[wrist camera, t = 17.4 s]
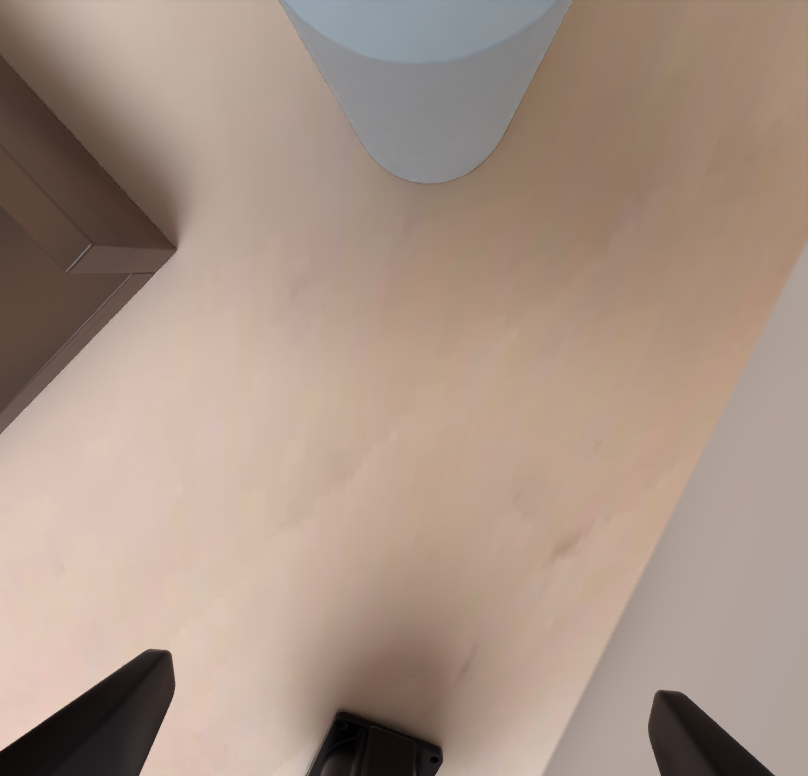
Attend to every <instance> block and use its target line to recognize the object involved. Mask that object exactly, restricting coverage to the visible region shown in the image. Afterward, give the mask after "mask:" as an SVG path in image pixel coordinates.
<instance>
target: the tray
mask: <svg viewBox="0 0 808 776" xmlns="http://www.w3.org/2000/svg"><path fill="white" fill-rule="evenodd" d="M175 252H176V248H175V247H174V246H173V245H172V244H171V243H170V242H169V241H168V240H167V238H166V237H165V236H164V235H163V234H162V233H161V232H160V231H159V230H158V229H157V227H156V226H155V225H154V224H153V223H152V222H151V221H150V220H149V219H148V218H147V216H146V215H145V214H144V213H143V212H142V211H141V210H140V209H139V208H138V206H137V205H136V204H135V203H134V202H133V201H132V200H131V199H130V198H129V197H128V195H127V194H126V193H125V192H124V191H123V190H122V189H121V188H120V187H119V186H118V184H117V183H116V182H115V181H114V180H113V179H112V178H111V177H110V176H109V175H108V173H107V172H106V171H105V170H104V169H103V168H102V167H101V166H100V165H99V164H98V162H97V161H96V160H95V159H94V158H93V157H92V156H91V155H90V154H89V153H88V151H87V150H86V149H85V148H84V147H83V146H82V145H81V144H80V143H79V142H78V140H77V139H76V138H75V137H74V136H73V135H72V134H71V133H70V132H69V131H68V129H67V128H66V127H65V126H64V125H63V124H62V123H61V122H60V121H59V120H58V118H57V117H56V116H55V115H54V114H53V113H52V112H51V111H50V110H49V109H48V107H47V106H46V105H45V104H44V103H43V102H42V101H41V100H40V99H39V98H38V96H37V95H36V94H35V93H34V92H33V91H32V90H31V89H30V88H29V87H28V85H27V84H26V83H25V82H24V81H23V80H22V79H21V78H20V77H19V75H18V74H17V73H16V72H15V71H14V70H13V69H12V68H11V67H10V66H9V64H8V63H7V62H6V61H5V60H4V59H3V58H2V57H1V56H0V433H1V432H2V431H3V430H4V429H5V428H6V427H7V426H8V425H9V424H10V423H11V422H12V421H13V420H14V419H15V418H16V417H17V416H18V415H19V414H20V412H21V411H22V410H23V409H24V408H25V407H26V406H27V405H28V404H29V403H30V402H31V401H32V400H33V399H34V398H35V397H36V396H37V395H38V394H39V393H40V392H41V391H42V390H43V389H44V388H45V387H46V386H47V385H48V384H49V382H50V381H51V380H52V379H53V378H54V377H55V376H56V375H57V374H58V373H59V372H60V371H61V370H62V369H63V368H64V367H65V366H66V365H67V364H68V363H69V362H70V361H71V360H72V359H73V358H74V357H75V356H76V355H77V353H78V352H79V351H80V350H81V349H82V348H83V347H84V346H85V345H86V344H87V343H88V342H89V341H90V340H91V339H92V338H93V337H94V336H95V335H96V334H97V333H98V332H99V331H100V330H101V329H102V328H103V327H104V326H105V324H106V323H107V322H108V321H109V320H110V319H111V318H112V317H113V316H114V315H115V314H116V313H117V312H118V311H119V310H120V309H121V308H122V307H123V306H124V305H125V304H126V303H127V302H128V301H129V300H130V299H131V298H132V297H133V295H134V294H135V293H136V292H137V291H138V290H139V289H140V288H141V287H142V286H143V285H144V284H145V283H146V282H147V281H148V280H149V279H150V278H151V277H152V276H153V275H154V272H156V271H157V270H158V269H159V268H160V267H161V266H162V265H163V264H164V263H165V262H166V261H167V260H168V259H169V258H170V257H171V256H172V255H173V254H174V253H175Z"/></svg>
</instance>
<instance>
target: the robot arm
mask: <svg viewBox="0 0 808 776" xmlns="http://www.w3.org/2000/svg"><path fill="white" fill-rule="evenodd" d="M174 691H175V676H174V668H173V660H172V655H171V653H170V652H169V651H167V650H159V649H149V650H146V651H144V652H143V653H141V654H140V655H138V656H137V657H135V658H134V659H133V660H131V661H130V662H128V663H127V664H125V665H124V666H122V667H121V668H120V669H118V670H117V671H115V672H114V673H112V674H111V675H110V676H108V677H107V678H105V679H104V680H102V681H101V682H99V683H98V684H97V685H95V686H94V687H92V688H91V689H89V690H88V691H87V692H85V693H84V694H82V695H81V696H79V697H78V698H76V699H75V700H74V701H72V702H71V703H69V704H68V705H66V706H65V707H64V708H62V709H61V710H59V711H58V712H56V713H55V714H53V715H52V716H51V717H49V718H48V719H46V720H45V721H43V722H42V723H41V724H39V725H38V726H36V727H35V728H33V729H32V730H30V731H29V732H28V733H26V734H25V735H23V736H22V737H20V738H19V739H17V740H16V741H15V742H13V743H12V744H10V745H9V746H7V747H6V748H5V749H3V750H2V751H0V776H139V775H140V772H141V770H142V768H143V765H144V763H145V761H146V759H147V756H148V754H149V752H150V749H151V747H152V745H153V742H154V740H155V738H156V735H157V733H158V731H159V729H160V726H161V724H162V722H163V719H164V717H165V715H166V712H167V710H168V708H169V705H170V703H171V701H172V698H173V695H174ZM648 733H649V738H650V742H651V745H652V749H653V751H654V755H655V758H656V762H657V764H658V768H659V771H660V774H661V776H775V775H774V774H772V773H771V772H770V771H769V770H768V769H767V768H766V767H765V766H764V765H763V764H761V763H760V762H759V761H758V760H757V759H756V758H755V757H754V756H753V755H751V754H750V753H749V752H748V751H747V750H746V749H745V748H744V747H742V746H741V745H740V744H739V743H738V742H737V741H736V740H734V738H733V737H731V736H730V735H729V734H728V733H727V732H726V731H725V730H724V729H722V728H721V727H720V726H719V725H718V724H717V723H716V722H715V721H714V720H713V719H711V718H710V717H709V716H708V715H707V714H706V713H705V712H704V711H703V710H701V709H700V708H699V707H698V706H697V705H696V704H695V703H694V702H692V701H691V700H690V699H689V698H688V697H687V696H686V695H684V694H683V693H681V692H678V691H666V690H659V691H657V692H656V693H655V696H654V700H653V704H652V709H651V714H650V718H649V723H648ZM442 762H443V751H442V749H441V748H440V747H438V746H435V745H433V744H430V743H427V742H425V741H422V740H419V739H417V738H414V737H411V736H408V735H406V734H403V733H400V732H398V731H395V730H392V729H390V728H387V727H384V726H382V725H379V724H376V723H374V722H371V721H368V720H366V719H363V718H360V717H358V716H355V715H352V714H349V713H347V712H338V713H336V715H335V716H334V718H333V720H332V723H331V725H330V727H329V729H328V731H327V733H326V735H325V738H324V740H323V742H322V744H321V746H320V748H319V750H318V752H317V755H316V757H315V759H314V761H313V763H312V765H311V767H310V770H309V772H308V774H307V776H435V775H436V773H437V771H438V769H439V768H440V766H441V764H442Z"/></svg>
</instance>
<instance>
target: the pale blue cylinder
mask: <svg viewBox="0 0 808 776" xmlns="http://www.w3.org/2000/svg"><path fill="white" fill-rule="evenodd" d="M572 1H573V0H279V2H280V4H281V6H282V7H283V9H284V11H285V12H286V14H287V16H288V18H289V19H290V21H291V23H292V24H293V26H294V28H295V30H296V31H297V33H298V35H299V37H300V38H301V40H302V42H303V43H304V45H305V47H306V49H307V50H308V52H309V54H310V55H311V57H312V59H313V61H314V62H315V64H316V66H317V67H318V69H319V71H320V73H321V74H322V76H323V78H324V80H325V81H326V83H327V85H328V86H329V88H330V90H331V92H332V93H333V95H334V97H335V98H336V100H337V102H338V104H339V105H340V107H341V109H342V110H343V112H344V114H345V116H346V117H347V119H348V121H349V123H350V124H351V126H352V128H353V129H354V131H355V133H356V135H357V136H358V138H359V140H360V141H361V143H362V145H363V147H364V148H365V150H366V151H367V152H368V153H369V155H370V156H371V157H372V158H373V159H374V160H375V161H376V162H377V163H378V164H379V165H380V166H381V167H383V168H384V169H385V170H387V171H388V172H390V173H392V174H393V175H395V176H397V177H399V178H402V179H404V180H407V181H411V182H416V183H425V184H432V183H441V182H447V181H450V180H453V179H456V178H459V177H461V176H463V175H465V174H467V173H469V172H470V171H472V170H473V169H475V168H476V167H477V166H479V165H480V164H481V163H482V162H483V161H484V160H485V159H486V158H487V157H488V156H489V155H490V154H491V153H492V152H493V151H494V149H495V148H496V146H497V145H498V143H499V142H500V140H501V138H502V137H503V135H504V133H505V131H506V129H507V127H508V125H509V123H510V121H511V119H512V117H513V115H514V114H515V112H516V110H517V108H518V106H519V104H520V102H521V100H522V98H523V96H524V94H525V92H526V90H527V88H528V86H529V84H530V82H531V81H532V79H533V77H534V75H535V73H536V71H537V69H538V67H539V65H540V63H541V61H542V59H543V57H544V55H545V53H546V51H547V50H548V48H549V46H550V44H551V42H552V40H553V38H554V36H555V34H556V32H557V30H558V28H559V26H560V24H561V22H562V20H563V18H564V17H565V15H566V13H567V11H568V9H569V7H570V5H571V3H572Z"/></svg>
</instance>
